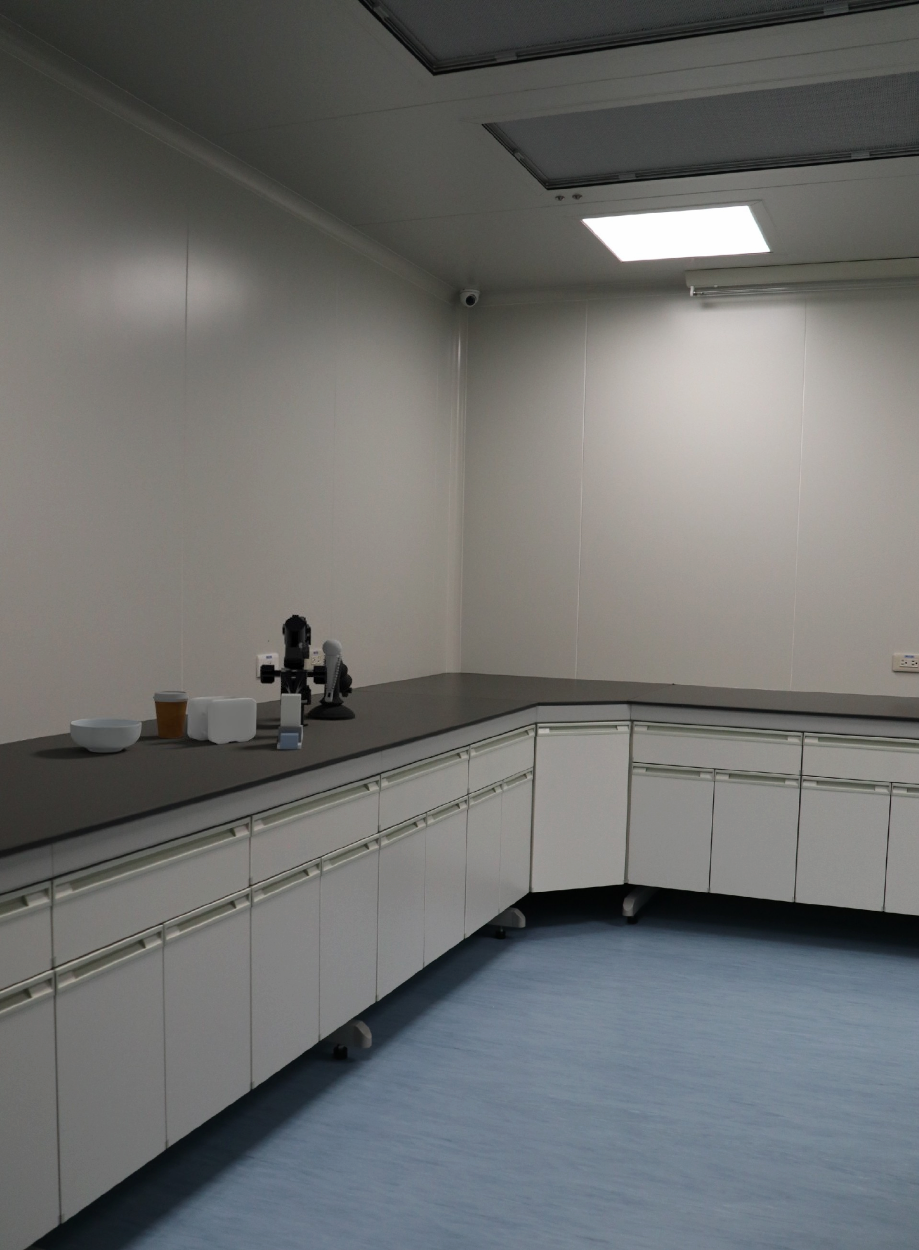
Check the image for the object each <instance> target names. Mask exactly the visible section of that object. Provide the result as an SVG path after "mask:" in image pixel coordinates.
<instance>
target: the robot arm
mask: <svg viewBox="0 0 919 1250" xmlns="http://www.w3.org/2000/svg"><path fill="white" fill-rule="evenodd" d="M281 628H282V631H281V632H282V633H281V634H282V636H283V637H284V640H283V641H284V645H285V647H284V657H283V667H280V669H275V664H270V663H269V664H261V665H260V668H259V674H260V675H259V677H260V678H259V679H260V683H261V684H263V685H265V684H266V685H267V684H268V685H273V683H275V682H276V681H275V680H276V678H277V679H280V696H281V695H282V694H301V718H300V725H303V727H304V726H309V723H308V722H305V706H311V705H312V689H311V687H310V685H309V684H308V678H312V680H313V682H312V683H313V684H315V685H323V686H324V685H325V684H327V667H326V666H325V665H323V664H322V665H321V664H320V665H319V664H318V665H316V664H315V665H313V669H305V664H306V662H305V661H306V660H310V652H311V651H310V647H311V645H312V627H311V625H310V624H309V623H308V621H307V619H306V617H304V616H300V614H292V615H291V616H289V618H287V619H285V622H284V623H282V627H281ZM279 702H280V706H281V700H280V701H279ZM279 723H280V725H281V722H279Z"/></svg>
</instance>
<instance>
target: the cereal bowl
mask: <svg viewBox="0 0 919 1250" xmlns="http://www.w3.org/2000/svg"><path fill="white" fill-rule="evenodd" d="M142 724H143V723H142V722H141V721H140V720H135V719H130V718H129V719H127V718H114V717H113V718H111V717H100V718H99V717H98V718H97V717H94V718H82V719H76V720H73V721H71V722H70V723H69V732H70V733H69V734H70V736H71V740H73V742H74V743H76V744H77V745H79V746H81V747H82V748H86V749H87V750H88V751H89V752H91V753H104V754H105V753H116V752H121V751H122V750H123V749H125V748H127V747H130V746H132V745H134V744H135V743H136V742H137V741H138V740H139V738H140V736H141V732H142Z"/></svg>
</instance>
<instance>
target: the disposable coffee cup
mask: <svg viewBox="0 0 919 1250" xmlns="http://www.w3.org/2000/svg"><path fill="white" fill-rule="evenodd" d="M152 699H153V702H154V706H155V716H156V724H157V725H156V726H157V733H158V738H160V739H161V738H162V739H178V738H182V737H183V735H184V729H185V728H184V727H185V722H186V721H185V720H186V714H187V709H188V702H189V699H190V696H189V693H188V692H187V691H183V690H182V691H181V690H162V691H160V690H159V691H155V692H154V696H152Z"/></svg>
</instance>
